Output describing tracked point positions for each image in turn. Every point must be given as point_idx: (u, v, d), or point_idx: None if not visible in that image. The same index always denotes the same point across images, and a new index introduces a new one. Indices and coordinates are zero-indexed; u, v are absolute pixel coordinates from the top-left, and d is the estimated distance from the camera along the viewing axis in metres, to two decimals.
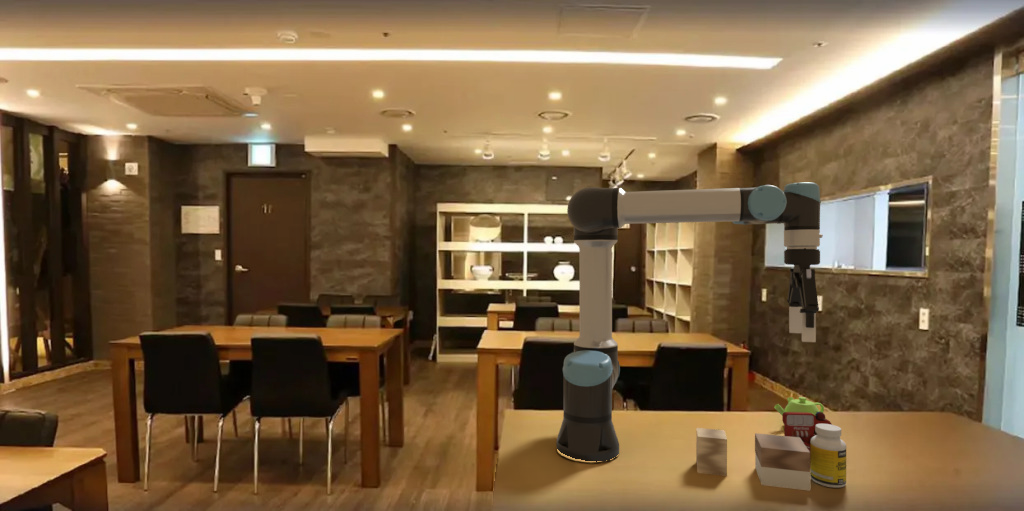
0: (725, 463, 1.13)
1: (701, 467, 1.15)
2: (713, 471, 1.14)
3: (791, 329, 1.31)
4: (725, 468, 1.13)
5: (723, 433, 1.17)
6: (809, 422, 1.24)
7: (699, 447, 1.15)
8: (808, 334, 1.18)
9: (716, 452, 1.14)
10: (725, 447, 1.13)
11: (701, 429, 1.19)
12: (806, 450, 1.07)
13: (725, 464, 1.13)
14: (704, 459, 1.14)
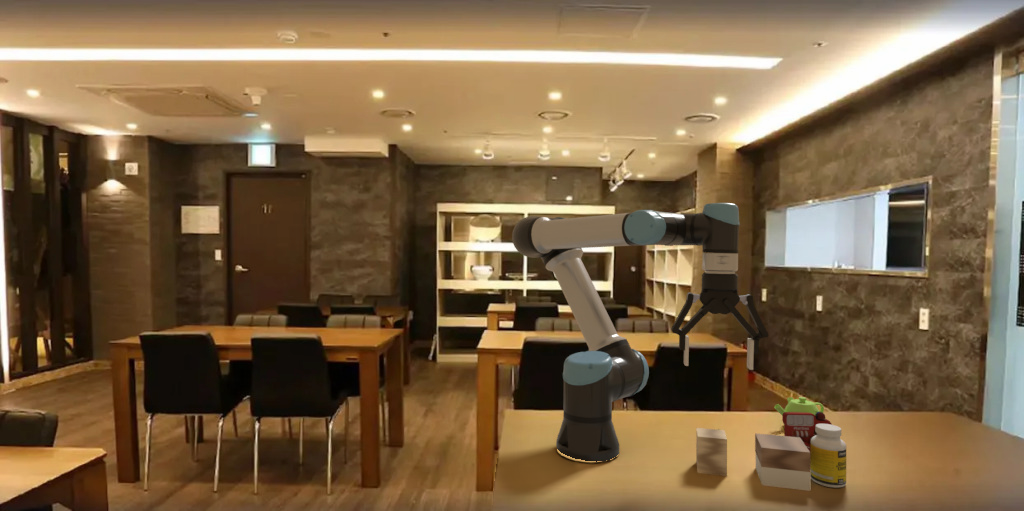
0: (725, 463, 1.13)
1: (701, 467, 1.15)
2: (713, 471, 1.14)
3: (747, 363, 1.17)
4: (725, 468, 1.13)
5: (723, 433, 1.17)
6: (809, 422, 1.24)
7: (699, 447, 1.15)
8: (684, 357, 1.19)
9: (716, 452, 1.14)
10: (725, 447, 1.13)
11: (701, 429, 1.19)
12: (806, 450, 1.07)
13: (725, 464, 1.13)
14: (704, 459, 1.14)
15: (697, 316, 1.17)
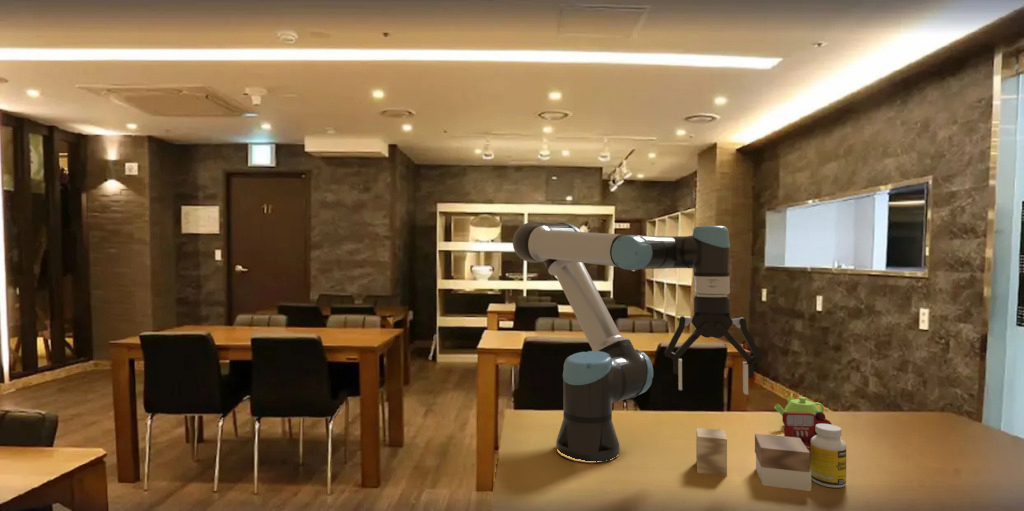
0: (725, 463, 1.13)
1: (701, 467, 1.15)
2: (713, 471, 1.14)
3: (743, 387, 1.15)
4: (725, 468, 1.13)
5: (723, 433, 1.17)
6: (809, 422, 1.24)
7: (699, 447, 1.15)
8: (678, 380, 1.19)
9: (716, 452, 1.14)
10: (725, 447, 1.13)
11: (701, 429, 1.19)
12: (806, 450, 1.07)
13: (725, 464, 1.13)
14: (704, 459, 1.14)
15: (689, 340, 1.17)
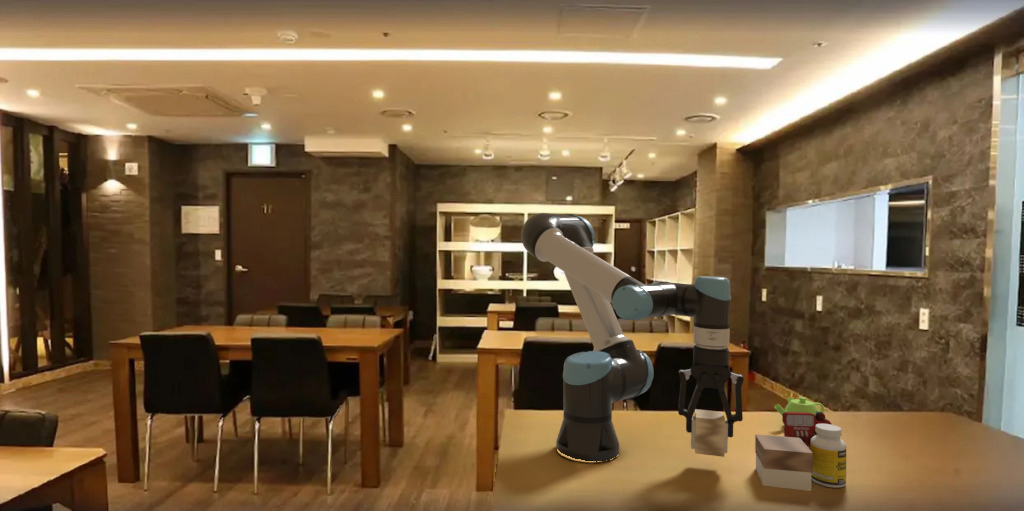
0: (723, 444, 1.14)
1: (698, 447, 1.15)
2: (711, 452, 1.14)
3: None
4: (723, 449, 1.14)
5: (721, 414, 1.17)
6: (809, 422, 1.24)
7: (697, 428, 1.15)
8: None
9: (714, 433, 1.14)
10: (723, 428, 1.13)
11: (699, 410, 1.20)
12: (809, 451, 1.07)
13: (723, 445, 1.14)
14: (702, 439, 1.15)
15: (695, 395, 1.17)
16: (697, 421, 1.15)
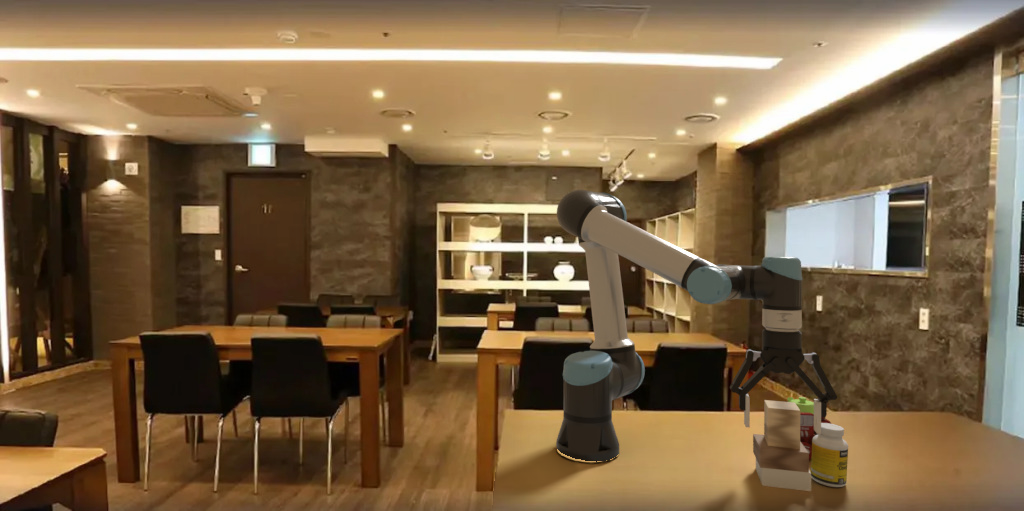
0: (798, 435, 1.08)
1: (772, 440, 1.10)
2: (785, 444, 1.09)
3: (814, 425, 1.11)
4: (798, 441, 1.08)
5: (794, 405, 1.11)
6: (809, 422, 1.24)
7: (770, 419, 1.10)
8: (744, 417, 1.14)
9: (789, 424, 1.08)
10: (798, 419, 1.08)
11: (770, 401, 1.14)
12: (805, 450, 1.07)
13: (798, 436, 1.08)
14: (775, 431, 1.09)
15: (758, 375, 1.12)
16: (770, 412, 1.10)
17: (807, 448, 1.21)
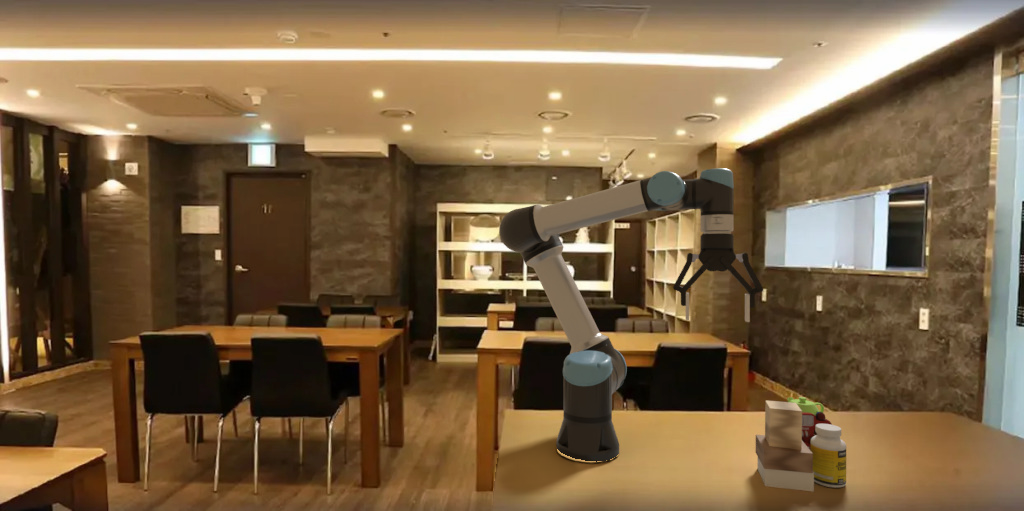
0: (800, 436, 1.08)
1: (773, 440, 1.09)
2: (786, 444, 1.08)
3: None
4: (800, 441, 1.08)
5: (796, 405, 1.11)
6: (809, 422, 1.24)
7: (771, 419, 1.09)
8: None
9: (790, 424, 1.08)
10: (800, 419, 1.07)
11: (771, 401, 1.14)
12: (809, 451, 1.07)
13: (800, 437, 1.08)
14: (777, 432, 1.09)
15: (696, 274, 1.28)
16: (771, 412, 1.09)
17: None
